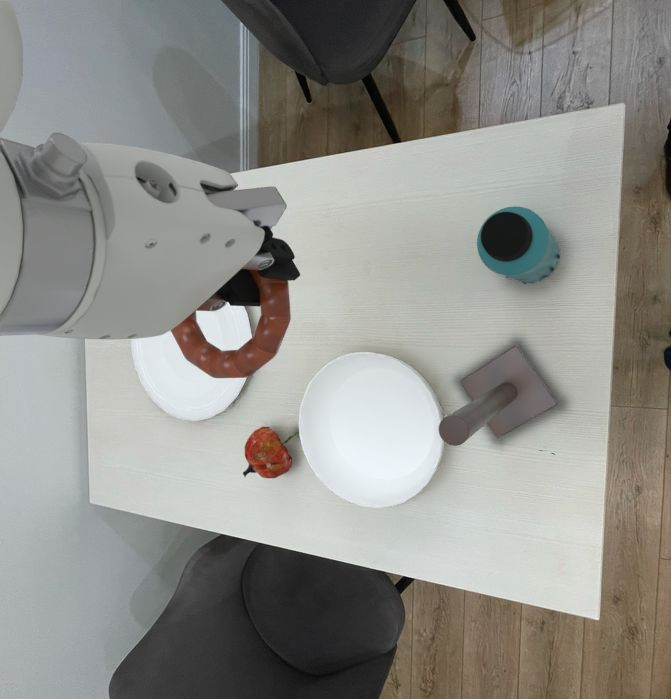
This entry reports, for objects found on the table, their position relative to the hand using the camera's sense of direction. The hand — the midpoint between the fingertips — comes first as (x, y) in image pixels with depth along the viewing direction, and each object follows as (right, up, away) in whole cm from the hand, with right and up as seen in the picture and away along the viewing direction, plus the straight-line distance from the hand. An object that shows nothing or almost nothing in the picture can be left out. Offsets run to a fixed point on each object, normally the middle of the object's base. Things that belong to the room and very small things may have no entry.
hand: (271, 273), depth 38 cm
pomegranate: (-3, -20, +42) cm, 47 cm away
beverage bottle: (+27, +5, +25) cm, 38 cm away
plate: (-18, -4, +49) cm, 52 cm away
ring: (-3, -2, +1) cm, 4 cm away
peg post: (+25, -10, +27) cm, 38 cm away
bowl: (+11, -15, +35) cm, 39 cm away
